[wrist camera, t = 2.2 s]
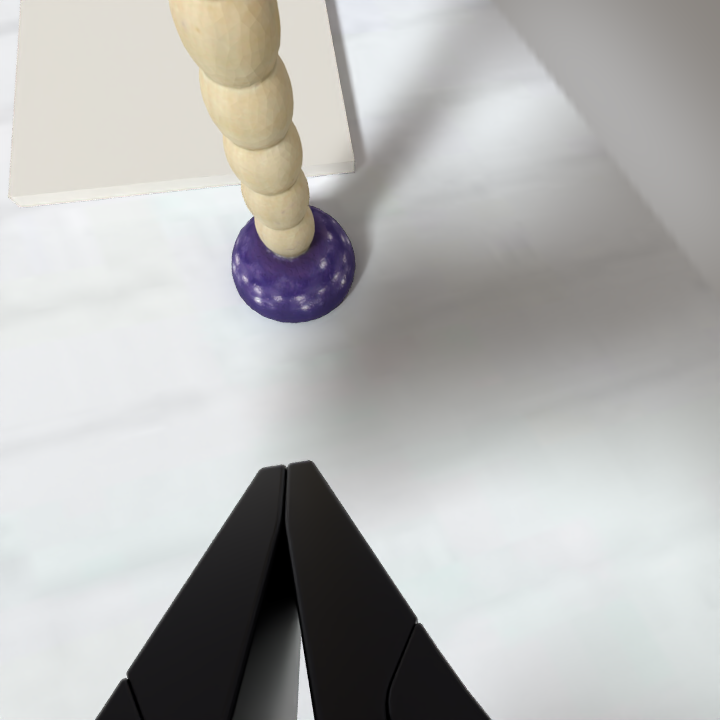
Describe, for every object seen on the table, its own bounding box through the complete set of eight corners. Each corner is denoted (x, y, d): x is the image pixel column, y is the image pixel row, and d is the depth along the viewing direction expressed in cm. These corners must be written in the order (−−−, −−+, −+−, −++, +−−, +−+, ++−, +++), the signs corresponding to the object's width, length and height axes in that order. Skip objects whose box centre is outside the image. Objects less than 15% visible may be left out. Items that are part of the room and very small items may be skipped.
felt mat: (354, 172, 17) (354, 161, 17) (20, 208, 16) (8, 197, 16) (302, -112, 22) (301, -129, 21) (36, -98, 21) (27, -115, 20)
